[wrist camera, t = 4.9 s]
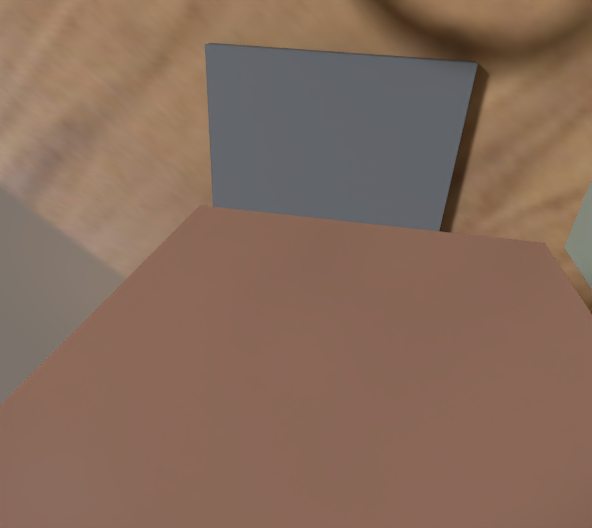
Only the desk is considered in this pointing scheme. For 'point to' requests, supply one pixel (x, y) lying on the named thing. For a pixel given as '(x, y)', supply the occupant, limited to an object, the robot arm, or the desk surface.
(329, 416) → the dusty pink block
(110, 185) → the desk surface
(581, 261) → the sage block
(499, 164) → the desk surface
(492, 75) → the desk surface
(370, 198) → the slate mat
